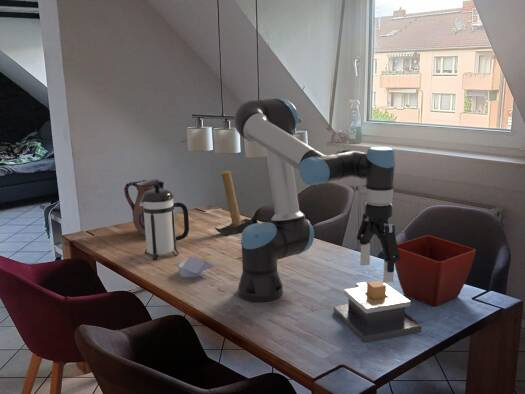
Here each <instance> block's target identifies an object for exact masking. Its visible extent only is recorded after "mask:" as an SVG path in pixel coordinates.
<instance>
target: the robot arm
mask: <svg viewBox="0 0 525 394" xmlns="http://www.w3.org/2000/svg"><path fill="white" fill-rule="evenodd" d="M298 123H299V114H298V110H297V108H296V106H295V105H294V104H293V103H292V102H291V101H289V100H288V99H285V98H269V99H256V100H255V99H253V100H247V101H245V102H243V103H242V104H241V105H240V106H238V107H237V109H236V111H235V113H234V116H233V125H234V127H235V131H236V132H237V133H238V135H239V136H241V137H242V138H243V139H245V140H246V141H248V142H250V143H257V144H258V145H260V146H261V147H263V148H265V154H266V158H267V160H266V161H267V162H266V163H267V167H268V176H269V181H270V182H269V183H270V189H271V195H272V202H273V210H274V215H273V216H272V217H271V222H268V221H266V222H265V221H262V222H258V223H255V224H252V225H249V226H248V227H246V228H245V229H244V230H243V232H242V233H241V242H240V245H241V259H242V260H241V261H242V262H241V263H242V265H241V266H242V272H241V275H240V280H239V282H238V286H237V287H238V288H237V290H238V291H237V292H238V293H237V294H238V296H239V297H240V298H241V299H243V300H244V301H245V300H246V301H248V302H257V303H258V302H259V303H260V302H264V303H265V302H269V301H274V300H276V299H278V298H280V297H281V296H282V295H283V294H284V293H283V292H284V291H283V290H284V288H283V283H282V280H281V278H280V274H279V272H278V260H282V259H284V258H287V257H291V256H296V255H300V254H302V253H304V252H306V251H308V250H309V249H310V248H311V247H312V245H313V243H314V239H315V230H314V226H313V225H312V224H311V222H310V221H309V219H307V218H306V217H305V213H303V212H302V211H301V210H300V207H299V206H300V205H299V198H298V191H297V183H296V178H295V169H296V170H297V171H298V174H299V177H300V178H301V179H302V181H303V183H304V184H307V185H310V186H312V185H313V186H314V185H322V184H325V183H329V182H334V181H339V180H345V179H349V178H357V179H361V180H365V198H364V199H365V204H364V205H365V206H364V213H363V214H362V221H361V222H360V227H359V229H358V233H357V236H356V239H357V241H359V244H360V266H361V267H362V266H363V267H364V266H369V265H370V262H371V243H372V242H371V239H372V238H373V236H376V237H377V239H378V240H379V241H380V244H381V247H382V251H383V254H384V258H385V259H384V260H383V277H382V278H383V281H382V283H386V284H388V283H393V282H394V275H395V261H399V260H400V256H399V251H398V246H397V244H398V242H397V237H396V227H395V224H389V219H390V218H391V217H392V216H393V204H392V202H393V200H394V199H393V198H394V196H393V195H394V177H395V166H396V162H395V161H396V159H395V150H394V149H393V148H391V147H389V146H373V147H372V146H371V147H368V149H367V151H366V152H363V151H358V150H354V149H339V150H338V151H336V152H335V153H331V154H323V153H321V152H320V151H319V150H316V149H315V148H313V147H311V146H310V145H308V144H307V143H305V142H303V141H302V140H300V139H298V138H297V137H295V136H294V131H295V130H296V129H297V127H298ZM294 168H295V169H294Z"/></svg>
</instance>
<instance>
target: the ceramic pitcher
mask: <svg viewBox="0 0 525 394" xmlns="http://www.w3.org/2000/svg"><path fill="white" fill-rule="evenodd" d="M155 184H159V186H160V188H159V189H164V185H165V182H164V181H162V180H161V181H160V180H159V179H157V178H153V179H141V180H138V181H129V182H127V183H126V185H125V186H124V190H123V192H124V196H125V199H126V201H127V203H128V205H129V206H130V208H131V211H132V212H131V213H132V222H133V225H134V228H135V229H136V231H138V232H139V233H140V234H141V235H144V236H146V235H145V222H144V212H143V206H139V205H140V202H141V200H142V197H143V194H144V193H145V192H146V191H149V190H153V189H155V188H154V186H155ZM129 187H135V188H136V190H137V195H136V198H135V203H134V202H133V199H132V198H131V196H130V192H129Z"/></svg>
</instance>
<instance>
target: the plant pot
mask: <svg viewBox="0 0 525 394" xmlns="http://www.w3.org/2000/svg"><path fill="white" fill-rule="evenodd" d="M397 246H398V251H399V256H400V260H399V261H395V262H394V268H395V270H396V274H397V275H396V276H397V278H398V283H399V284H400V288H401V289H402V293H403V294H404V295H405V296H408V297H410V298H411V299H415V300H417V301H419V302H422V303H424V304H427V305H428V306H431V307H437V306H439V305H443V304H444V303H447V302H449V301H452V300H454V299H456V298H458V297H459V295H460V294H461V291H462V290H463V288H464V286H465V283H466V281H467V280H468V277H469V275H470V271H471V269H472V266H473V263H474V260H475V256H476V251H477V250H476V249H475V248H472V247H470V246H468V245H462V244H460V243H456V242H453V241H450V240H446V239H442V238H439V237H436V236H433V235H424V236H420V237H417V238H414V239H410V240H406V241H403V242H400V243H397Z"/></svg>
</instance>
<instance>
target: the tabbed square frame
mask: <svg viewBox="0 0 525 394" xmlns="http://www.w3.org/2000/svg"><path fill="white" fill-rule="evenodd" d="M382 283H383V284H385V285H386V298H384V299H378V300H371V299H370V298H369V297H368V296H367V282H365V281H363V282H356V283H355V287H351V288H344V289H343V294H344V296H345V297H346V298H347V299H348V303H345V304H340V305H334V306H333V313H334V314H335V315H336V316H337V317H338V318H339V319H340V321H342V322H343V323H344V324H345V326H347V327H348V328H349V329H350V330H351V331H352V332H353V333H354V334H355V335H356V336H357V337H358V338H359V339H360V340H361V341H362V342H363V343H370V342H374V341H375V342H376V341H381V340H382V341H383V340H386V339H391V338H396V337H401V336H403V337H404V336H407V335H412V334H417V333H422V324H421V323H419V322H418V321H416V320H415V319H414V318H413V317H411V316H410V315H409V314H407V313H406V307H407V308H408V307H411V300H409V299H408V298H407V297H405V296H404V295H403V294H401V293H400V292H398V291H397V290H395V289H394V288H393V287H391V286H390V285H389V284H388V283H384V282H382Z"/></svg>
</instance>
